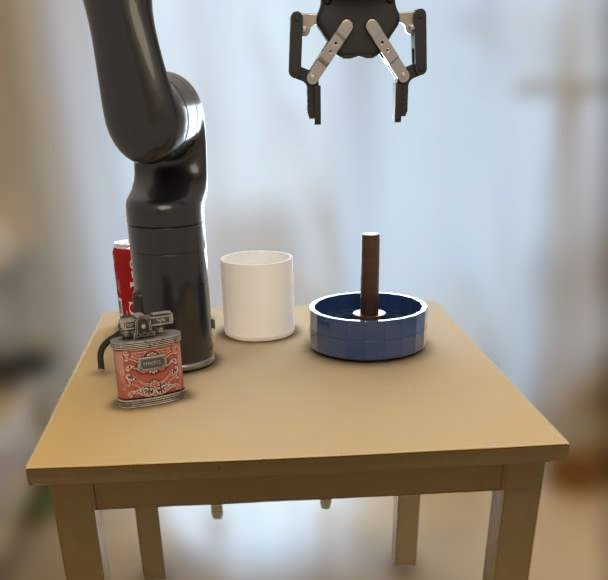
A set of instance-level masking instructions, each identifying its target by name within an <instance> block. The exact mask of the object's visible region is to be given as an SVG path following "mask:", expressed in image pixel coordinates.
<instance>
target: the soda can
mask: <svg viewBox="0 0 608 580" xmlns="http://www.w3.org/2000/svg"><path fill="white" fill-rule="evenodd" d="M113 244H114V246H113V249H112V252H111V253H112V254H111V255H112V260H113V261H112V262H113V268H114V278H115V287H116V294H117V303H118V310H119V319H121V317H122V315H133V314H134V308H133V299H132V293H133V291H134V281H133V272H132V263H131V254H130V245H129V238H124V239H118V240H114V242H113Z"/></svg>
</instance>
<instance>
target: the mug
mask: <svg viewBox="0 0 608 580" xmlns="http://www.w3.org/2000/svg"><path fill="white" fill-rule="evenodd" d="M219 265H220V282H221V297H222V313H223V326H224V327H223V329H224V334H225V335H226V336H227V337H229V338H231V339H233V340H237V341H241V342H270V341H277V340H282V339H285V338H287V337H289V336H291V335H292V334H294V332H295V330H296V322H295V321H296V320H295V280H294V279H295V277H294V256H293V255H292V253H289V252H286V251H279V250H268V249H267V250H265V249H264V250H263V249H262V250H261V249H260V250H259V249H256V250H255V249H254V250H243V251H236V252H231V253H227V254H224V255H222V256H221V257H220V258H219Z"/></svg>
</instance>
